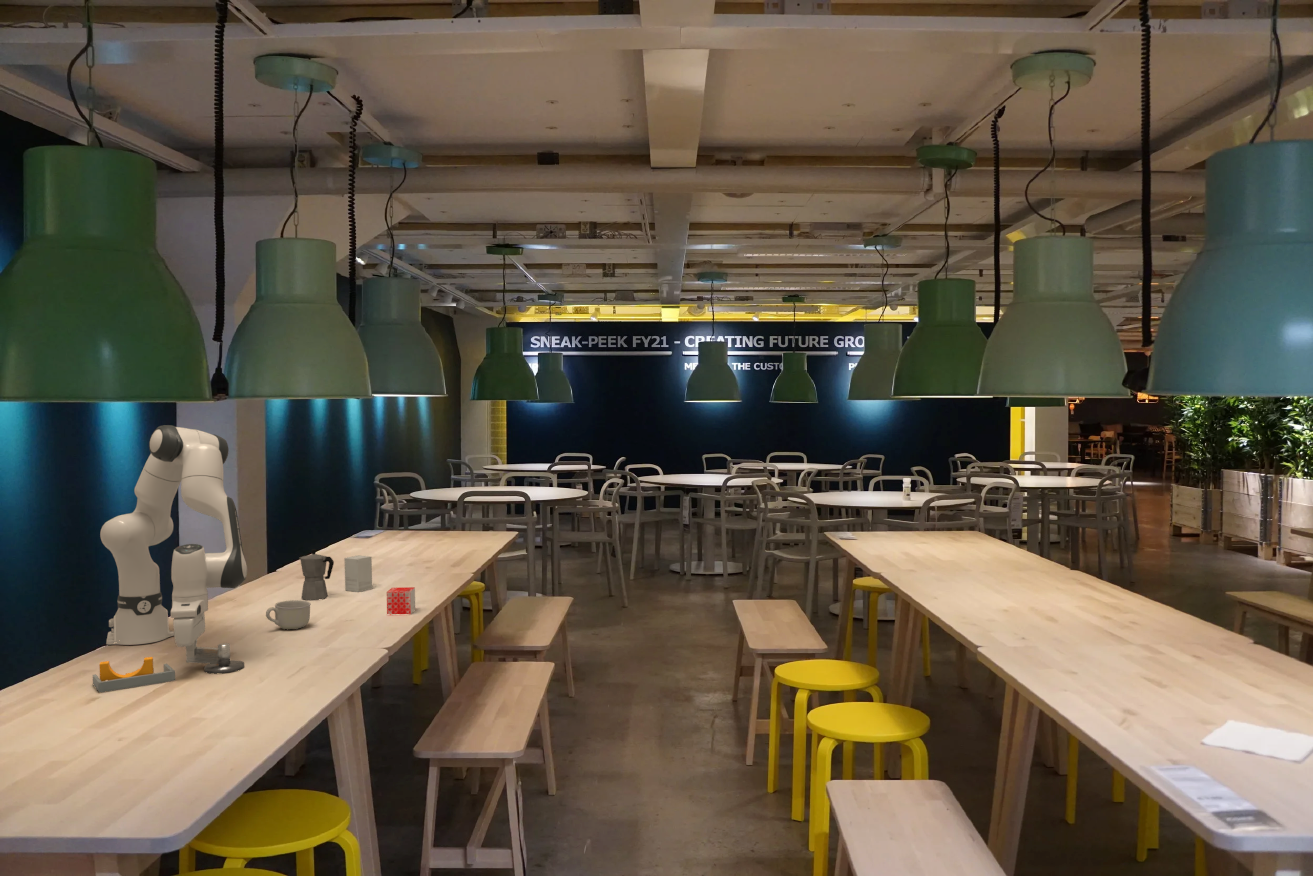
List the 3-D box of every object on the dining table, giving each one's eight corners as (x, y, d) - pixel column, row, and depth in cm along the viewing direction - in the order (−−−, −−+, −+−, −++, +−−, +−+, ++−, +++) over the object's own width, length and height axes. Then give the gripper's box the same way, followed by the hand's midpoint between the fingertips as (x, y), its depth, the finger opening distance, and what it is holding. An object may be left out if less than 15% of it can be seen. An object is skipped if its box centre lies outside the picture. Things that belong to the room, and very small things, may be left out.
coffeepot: (291, 599, 372) (290, 550, 371) (309, 594, 381) (308, 546, 380) (325, 602, 366) (324, 552, 365) (342, 597, 375) (341, 548, 374)
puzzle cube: (392, 610, 352) (391, 587, 351) (415, 610, 352) (414, 587, 351) (387, 615, 344) (386, 592, 343) (410, 615, 344) (410, 591, 343)
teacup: (305, 622, 333) (305, 598, 333) (315, 628, 324) (314, 603, 324) (261, 628, 325) (260, 603, 325) (269, 635, 316) (269, 609, 316)
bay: (92, 684, 263) (92, 674, 263) (167, 672, 273) (166, 663, 273) (99, 692, 255) (98, 683, 255) (175, 680, 266) (175, 671, 266)
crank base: (200, 668, 278) (200, 663, 278) (238, 662, 284) (238, 657, 284) (209, 675, 270) (209, 671, 270) (249, 669, 276) (248, 665, 276)
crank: (232, 663, 278) (232, 643, 278) (225, 666, 275) (225, 646, 275) (192, 661, 281) (191, 641, 280) (185, 663, 278) (184, 644, 277)
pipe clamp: (153, 679, 267) (153, 655, 267) (152, 684, 263) (152, 659, 263) (101, 685, 263) (101, 660, 262) (100, 689, 259) (99, 664, 258)
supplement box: (373, 589, 390) (372, 556, 390) (357, 592, 384) (357, 559, 383) (359, 587, 394) (358, 554, 394) (344, 590, 388) (343, 557, 387)
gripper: (186, 599, 285) (187, 648, 286) (168, 612, 265) (170, 665, 266) (210, 598, 287) (211, 647, 287) (195, 611, 267) (196, 664, 267)
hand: (191, 656), depth 276 cm, fingers closed
